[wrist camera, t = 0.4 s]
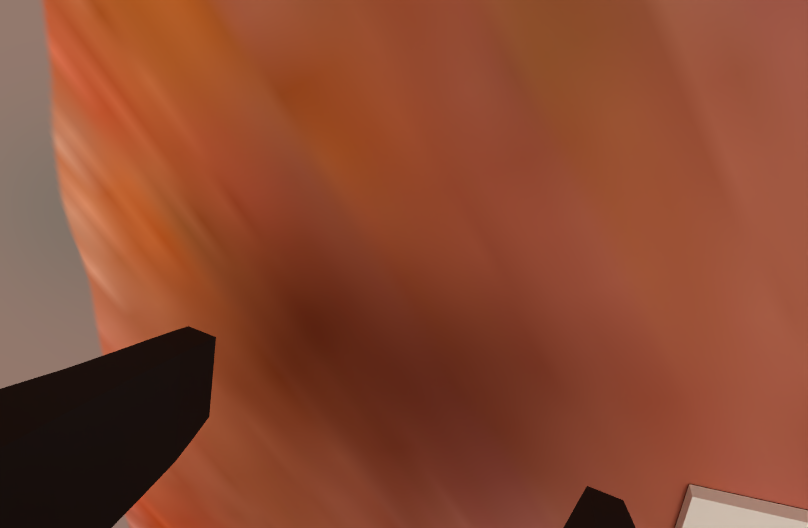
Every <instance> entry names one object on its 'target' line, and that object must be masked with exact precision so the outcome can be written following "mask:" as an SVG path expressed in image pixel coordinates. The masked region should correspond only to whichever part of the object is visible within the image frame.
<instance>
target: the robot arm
mask: <svg viewBox="0 0 808 528" xmlns="http://www.w3.org/2000/svg"><path fill="white" fill-rule="evenodd" d="M215 341H216V337H214V336H211V335H209V334H206V333H204V332H201V331H199V330H196V329H194V328H191V327H189V326H188V327H185V328H182V329H178V330H175V331H172V332H169V333H166V334H163V335H161V336H158V337H155V338H152V339H149V340H146V341H144V342H141V343H138V344H135V345H132V346H129V347H127V348H124V349H121V350H118V351H115V352H113V353H110V354H107V355H104V356H101V357H98V358H95V359H92V360H90V361H87V362H84V363H81V364H78V365H75V366H72V367H69V368H66V369H63V370H60V371H57V372H54V373H51V374H47V375H44V376H41V377H38V378H34V379H31V380H28V381H24V382H21V383H18V384H15V385H12V386H8V387H5V388H2V389H0V528H112V527H113V526H114V525H115V523H117V521H118V520H119V519H120V518H121V517H122V516H123V515H124V514H125V513H126V512H127V511H128V510H129V509H130V508H131V507H132V506H133V505H134V504H135V503H136V502H137V501H138V500H139V499H140V498H141V497H142V496H143V495H144V494H145V493H146V492H147V491H148V489H149V488H150V487H151V486H152V485H153V484H154V483H155V482H156V481H157V480H158V479H159V478H160V477H161V476H162V475H163V474H164V473H165V472H166V471H167V470H168V468H169V467H170V466H171V465H172V464H173V463H174V462H175V461H176V460H177V458H178V457H179V456H180V455H181V453H182V452H183V451H184V449H185V448H186V447H187V446H188V444H189V443H190V442H191V441H192V439H193V438H194V436H195V435H196V434H197V432H198V431H199V430H200V428H201V427H202V426H203V424H204V423H205V422H206V420H207V419H208V417H209V412H210V400H211V389H212V377H213V365H214V353H215ZM564 528H635V525H634V523H633V521H632V519H631V516H630V514H629V512H628V510H627V508H626V505H625V503H624V501H623V500H621V499H618V498H616V497H613V496H611V495H608V494H606V493H603V492H601V491H598V490H596V489H593V488H591V487H588V486H587V487H586V489H585V490H584V492H583V494H582V496H581V498H580V499H579V501H578V503H577V505H576V506H575V508H574V510H573V512H572V514H571V515H570V517H569V519H568V521H567V522H566V524H565V526H564Z"/></svg>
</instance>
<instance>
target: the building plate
mask: <svg viewBox="0 0 808 528" xmlns="http://www.w3.org/2000/svg"><path fill="white" fill-rule="evenodd" d="M675 528H808V510H804V509H799V508H795V507H790V506H786V505H781V504H777V503H772V502H768V501H763V500H759V499H754V498H750V497H745V496H741V495H736V494H732V493H727V492H723V491H718V490H713V489H709V488H704V487H700V486H695V485H691V484H689V486H688V489H687V493H686V496H685V499H684V502H683V505H682V508H681V511H680V514H679V517H678V520H677V523H676V526H675Z"/></svg>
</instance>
